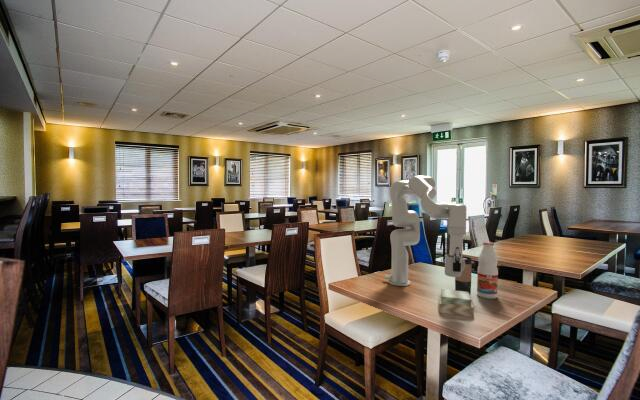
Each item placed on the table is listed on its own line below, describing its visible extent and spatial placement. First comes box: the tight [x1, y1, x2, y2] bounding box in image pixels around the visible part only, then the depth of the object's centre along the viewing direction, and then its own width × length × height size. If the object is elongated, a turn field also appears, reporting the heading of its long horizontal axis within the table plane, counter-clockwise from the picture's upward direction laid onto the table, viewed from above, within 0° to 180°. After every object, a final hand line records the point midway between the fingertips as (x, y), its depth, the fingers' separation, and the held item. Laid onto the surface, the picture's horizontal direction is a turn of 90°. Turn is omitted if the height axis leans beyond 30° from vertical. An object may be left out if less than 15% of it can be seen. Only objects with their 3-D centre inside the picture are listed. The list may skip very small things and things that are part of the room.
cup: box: [444, 253, 465, 278], centre depth 150 cm, size 7×10×9 cm
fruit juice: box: [476, 241, 499, 300], centre depth 169 cm, size 9×9×28 cm
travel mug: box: [454, 256, 473, 296], centre depth 168 cm, size 8×8×20 cm
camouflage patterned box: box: [438, 288, 475, 318], centre depth 150 cm, size 14×14×7 cm
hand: (456, 269), depth 150 cm, fingers closed on cup, 7 cm apart
